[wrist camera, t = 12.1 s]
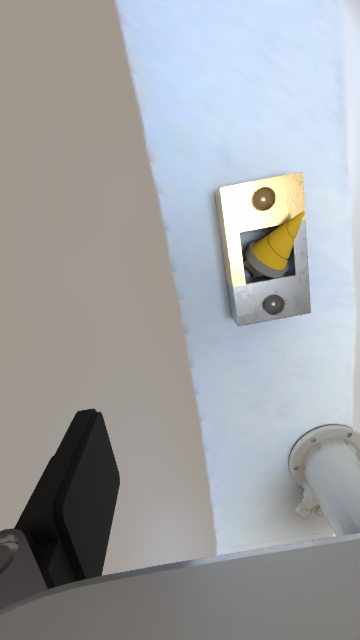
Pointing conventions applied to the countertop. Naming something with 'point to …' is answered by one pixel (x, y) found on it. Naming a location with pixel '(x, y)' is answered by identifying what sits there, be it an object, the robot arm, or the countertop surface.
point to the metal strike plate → (255, 213)
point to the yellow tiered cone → (273, 250)
